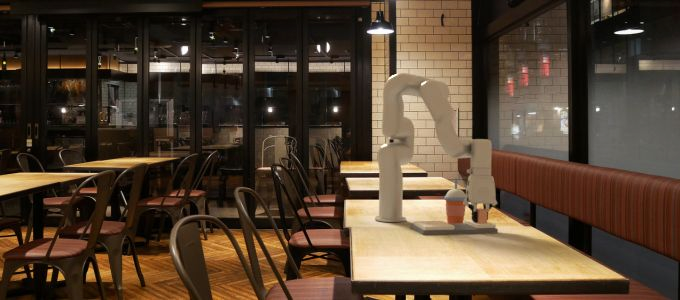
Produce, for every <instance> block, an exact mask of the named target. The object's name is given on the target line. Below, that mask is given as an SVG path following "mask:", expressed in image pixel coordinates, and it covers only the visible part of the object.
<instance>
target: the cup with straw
mask: <svg viewBox="0 0 680 300" xmlns="http://www.w3.org/2000/svg"><path fill="white" fill-rule="evenodd" d="M465 198H466V192H465V191H463V190H462V189H460V188H458V177H455V178H454V188H451V189H449V190H448V191H447V193H446V194H445V195H444V197H443V199H444V200H445V211H446V219H447V220H446V221H447V222H446V223H448V224H451V223H464V221H465V220H464V218H465V213H466V207H467V206H466V205H464V204H463V201H464V200H465Z"/></svg>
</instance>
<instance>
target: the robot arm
mask: <svg viewBox="0 0 680 300" xmlns="http://www.w3.org/2000/svg"><path fill="white" fill-rule="evenodd" d="M403 96H411V97H412V96H413V97H417V98H421V99H422V100H423V103H424V105H425V106H426V108H427V110H428V112H429V113H430V116H431V118H432V120H433V122H434V129H435V134H436V137H437V140H438V142H439V143H440V145H441V148H442V149H443V150H444V152H445V154H446V155H447V156H448V157H449V158H452V159H468V158H470V167H469V169H468V168H467V169H466V174H469V176H468V178H467V183H466V190H465V195H466V198H465V200H464V201H463V204H464V205H466V207H467V208H469V210H470V211H471V220H473V222H475V223H477V222H478V212H477V208H478V204H482V208H483V209H486V210H487V221H488V220H489V212H490V210H491V209H492V208H493V207H494V206H497V205H498V201H497V199H496V197H497V196H496V195H497V194H496V184H495V180H494V179H495V178H494V176H492V149H493V148H492V146H493V145H492V141H491V140H490V139H487V138H486V139H485V138H484V139H483V138H475V139H472V138H465V137H464V138H463V137H459V136H458V133H457V132H456V130H455V128H454V125H453V117H454V115H455V110H454V108H453V106H452V104H451V103H450V101H449V97H450V87H449V86H448V85H447V83H445V82H443V81H440V80H435V79H433V78H432V79H431V78H427V77H425V76H422V75H416V74H411V73H406V72H400V73H399V72H398V73H396V74H394V75H393V74H392V75H391V76H390V77H389V78H388V79H387V80H386V82H385V84H384V86H383V89H382V120H381V121H382V122H381V133H382V135H383V136H384V137H385V138H386V139H389V140H393V142H386V143H384V144H382V145H381V146H380V147H379V149H378V151H377V156H376V157H377V164H378V173H379V177H378V179H379V182H378V183H379V184H378V185H379V186H378V187H379V188H378V189H379V190H378V215H377V216H375V217H374V221H377V222H383V223H402V222H406V220H407V218H406V216H403V194H404V193H403V192H404V190H403V188H404V187H403V186H404V185H403V184H404V178H403V170H402V166H406V165H408V164H410V163H411V162H412V160H413V157H414V152H415V150H414V149H415V148H414V147H415V125H414V123H413V121H412V120H411V119H410V118H408V117H406V116H404V115H405V114H404V113H405V112H404V111H405V110H404V109H405V104H404V100H403Z"/></svg>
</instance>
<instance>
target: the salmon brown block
mask: <svg viewBox="0 0 680 300" xmlns="http://www.w3.org/2000/svg"><path fill="white" fill-rule="evenodd" d="M477 212H478V222H477V223H475V222H473V220H472V219H466V220H464V223H465V224H468V225H470V226H473V227H475V228H496V229H497V227H496V226H497V225H496V224H495V223H492V222H489V221H488V220H487V210H486V209H483V207H477Z"/></svg>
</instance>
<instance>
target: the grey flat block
mask: <svg viewBox="0 0 680 300" xmlns="http://www.w3.org/2000/svg"><path fill="white" fill-rule="evenodd" d="M409 228H410V229H411V230H413V231H415V232H417V233H419V234H420V235H422V236H424V235H425V236H428V235H432V236H433V235H434V236H435V235H437V236H438V235H473V234H474V235H477V234H478V235H479V234H480V235H481V234H483V235H484V234H485V233H489V234H498V233H499V232H498V228H497V227H496V228H475V227H473V226H470V225H468V224H465V222H463V223H451V224H450V223H448V222H445V221H443V220H425V221H424V220H423V221H422V220H417V221H416V220H415V221H413V223H410V227H409Z"/></svg>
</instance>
